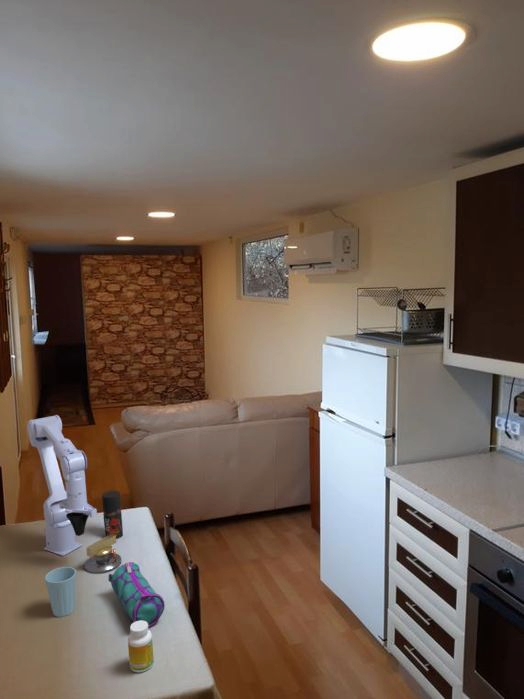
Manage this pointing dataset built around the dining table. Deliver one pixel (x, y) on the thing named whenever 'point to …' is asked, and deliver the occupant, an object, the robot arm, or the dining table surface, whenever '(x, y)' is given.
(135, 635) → the supplement bottle
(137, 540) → the dining table surface
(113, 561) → the post base
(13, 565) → the dining table surface
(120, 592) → the pencil case
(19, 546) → the dining table surface
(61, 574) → the cup
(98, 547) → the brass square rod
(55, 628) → the dining table surface
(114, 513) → the deodorant
